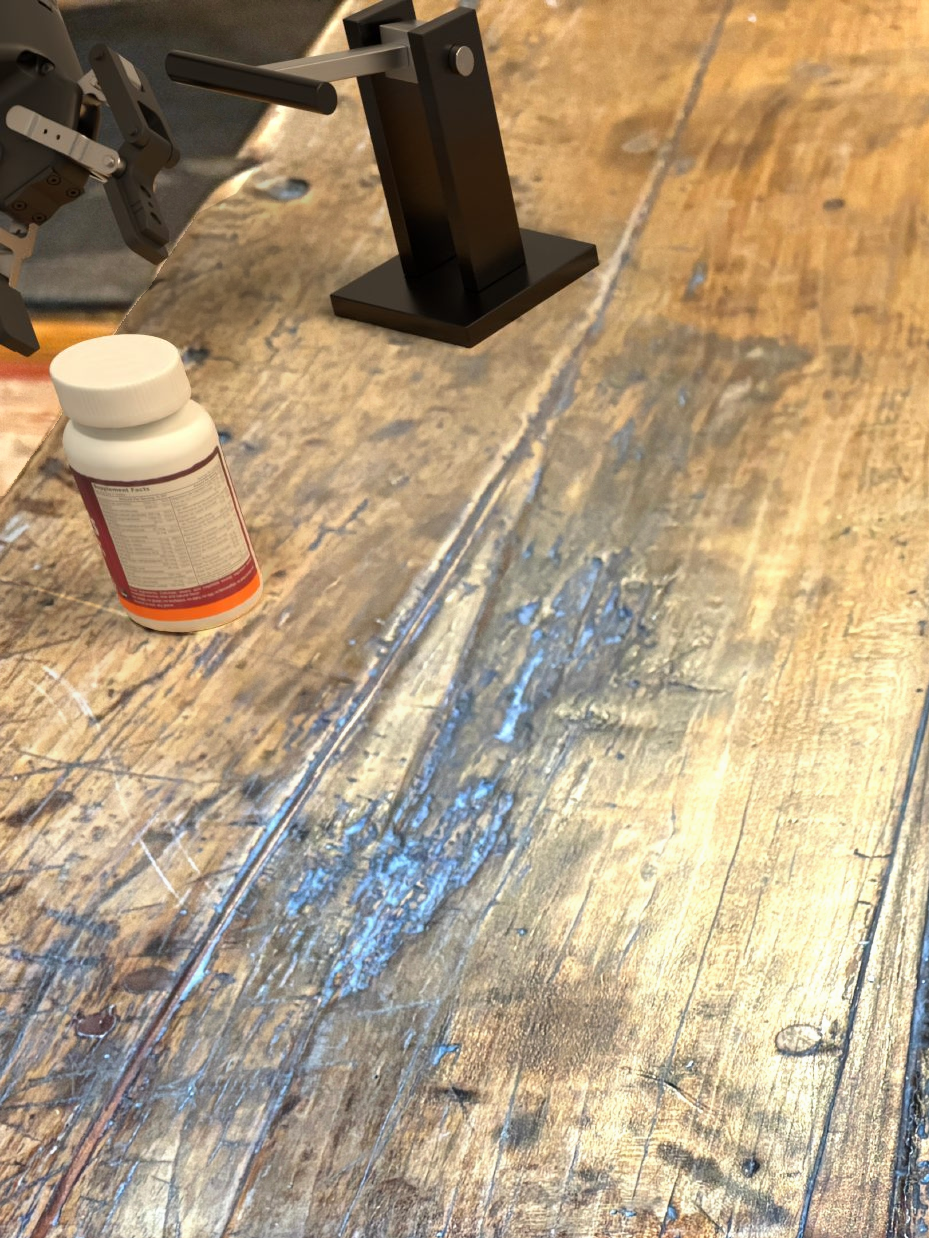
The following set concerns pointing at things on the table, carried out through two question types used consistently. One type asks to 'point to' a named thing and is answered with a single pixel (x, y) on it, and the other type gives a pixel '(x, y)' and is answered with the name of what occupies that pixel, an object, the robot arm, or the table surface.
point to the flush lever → (299, 72)
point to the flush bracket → (448, 193)
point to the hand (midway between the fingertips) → (83, 300)
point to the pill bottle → (155, 484)
